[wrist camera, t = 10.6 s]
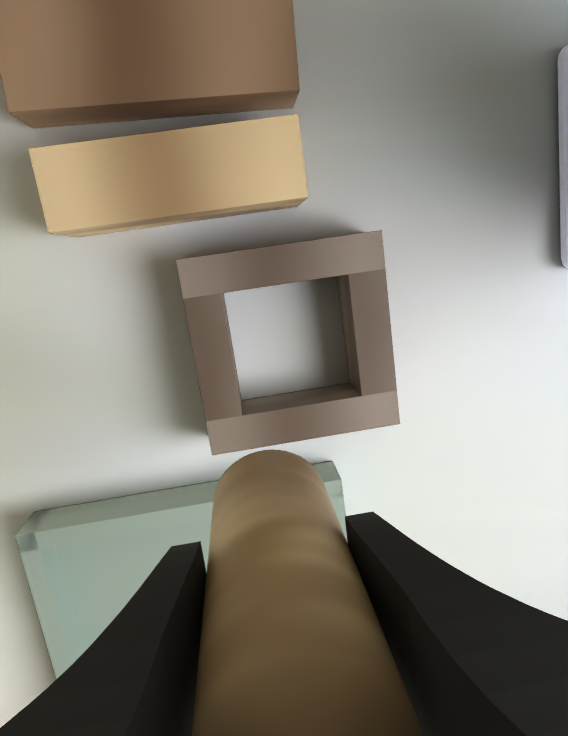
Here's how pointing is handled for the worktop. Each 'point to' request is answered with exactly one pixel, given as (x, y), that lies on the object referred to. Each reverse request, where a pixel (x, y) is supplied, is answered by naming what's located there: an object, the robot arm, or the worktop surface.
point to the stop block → (170, 176)
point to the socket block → (308, 407)
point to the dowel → (290, 616)
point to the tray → (114, 555)
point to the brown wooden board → (145, 59)
